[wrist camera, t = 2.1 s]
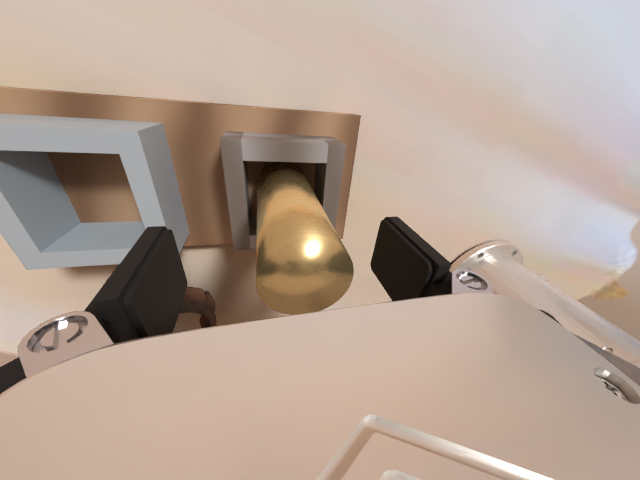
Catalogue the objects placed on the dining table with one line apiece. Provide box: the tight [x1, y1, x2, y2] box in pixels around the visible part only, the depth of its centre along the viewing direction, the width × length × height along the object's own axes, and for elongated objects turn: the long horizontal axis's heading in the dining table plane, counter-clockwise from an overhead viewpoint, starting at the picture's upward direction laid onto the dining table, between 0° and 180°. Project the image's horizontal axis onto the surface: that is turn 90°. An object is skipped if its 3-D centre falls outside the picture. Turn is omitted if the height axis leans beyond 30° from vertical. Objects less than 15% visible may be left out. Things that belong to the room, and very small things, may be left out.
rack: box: [0, 113, 190, 270], centre depth 15 cm, size 8×8×4 cm
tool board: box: [0, 87, 361, 250], centre depth 17 cm, size 24×11×5 cm, turn 85°
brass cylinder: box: [256, 162, 354, 315], centre depth 15 cm, size 4×4×12 cm
